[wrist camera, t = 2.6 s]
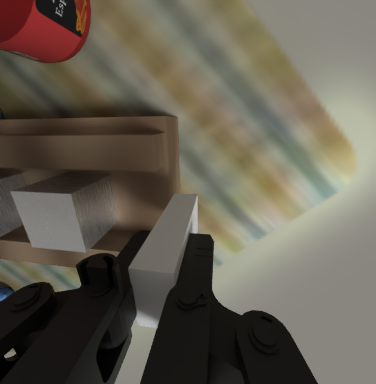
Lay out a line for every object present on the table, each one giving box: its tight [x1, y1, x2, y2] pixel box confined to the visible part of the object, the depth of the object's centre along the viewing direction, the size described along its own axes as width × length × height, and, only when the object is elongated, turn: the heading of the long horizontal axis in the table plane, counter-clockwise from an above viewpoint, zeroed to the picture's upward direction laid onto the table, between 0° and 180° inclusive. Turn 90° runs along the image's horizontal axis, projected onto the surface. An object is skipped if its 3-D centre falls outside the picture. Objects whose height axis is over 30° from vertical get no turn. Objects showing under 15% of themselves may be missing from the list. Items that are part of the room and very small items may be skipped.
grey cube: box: [10, 173, 118, 253], centre depth 13 cm, size 4×4×4 cm
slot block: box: [0, 116, 180, 268], centre depth 16 cm, size 17×12×6 cm
